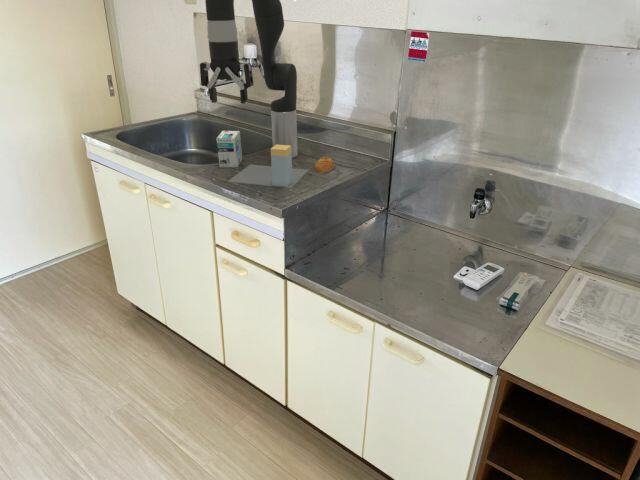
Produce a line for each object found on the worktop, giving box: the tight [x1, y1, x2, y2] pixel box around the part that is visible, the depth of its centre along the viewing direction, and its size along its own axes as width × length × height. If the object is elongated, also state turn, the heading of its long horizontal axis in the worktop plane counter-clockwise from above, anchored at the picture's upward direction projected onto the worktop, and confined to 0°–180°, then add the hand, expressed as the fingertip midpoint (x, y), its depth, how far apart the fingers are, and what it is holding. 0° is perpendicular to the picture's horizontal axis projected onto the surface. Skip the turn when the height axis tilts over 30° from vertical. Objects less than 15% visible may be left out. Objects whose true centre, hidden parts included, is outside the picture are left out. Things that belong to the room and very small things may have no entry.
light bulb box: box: [216, 130, 243, 168], centre depth 173 cm, size 11×7×11 cm, turn 179°
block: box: [270, 144, 293, 188], centre depth 152 cm, size 5×5×12 cm
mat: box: [227, 164, 309, 189], centre depth 162 cm, size 18×22×1 cm
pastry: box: [314, 156, 336, 174], centre depth 167 cm, size 9×7×4 cm
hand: (229, 102), depth 132 cm, fingers open, 8 cm apart
